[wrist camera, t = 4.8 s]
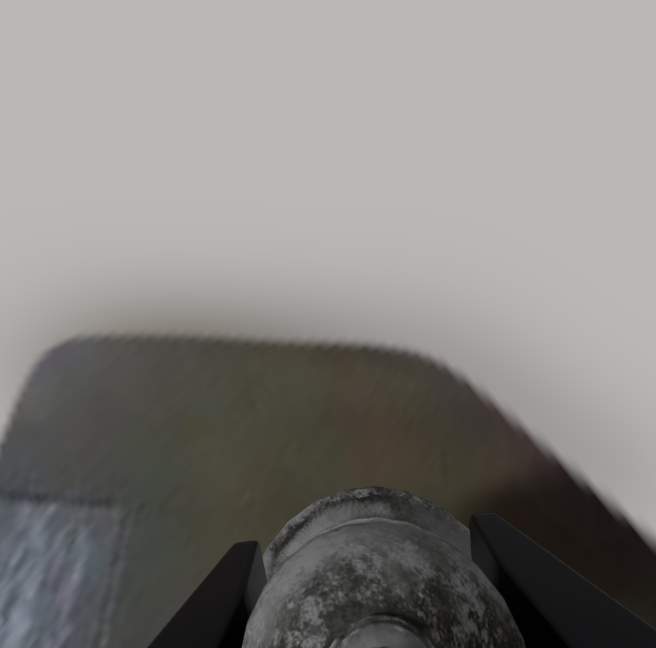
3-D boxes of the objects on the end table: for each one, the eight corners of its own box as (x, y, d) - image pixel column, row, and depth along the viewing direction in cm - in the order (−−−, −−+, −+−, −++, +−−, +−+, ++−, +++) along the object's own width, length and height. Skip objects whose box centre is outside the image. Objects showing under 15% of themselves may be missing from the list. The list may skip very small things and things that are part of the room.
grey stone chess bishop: (279, 504, 15) (79, 317, 5) (474, 511, 15) (720, 315, 4) (259, 748, 13) (-304, 1536, 2) (497, 766, 12) (1322, 1919, 2)
